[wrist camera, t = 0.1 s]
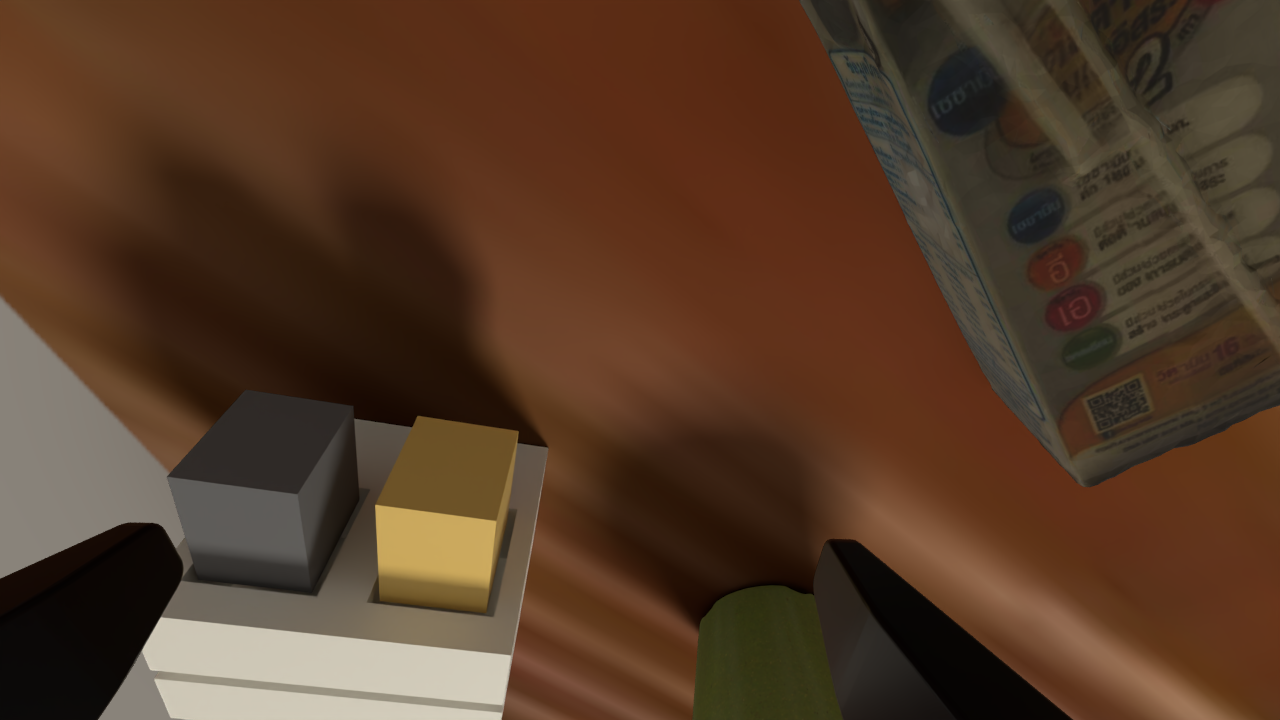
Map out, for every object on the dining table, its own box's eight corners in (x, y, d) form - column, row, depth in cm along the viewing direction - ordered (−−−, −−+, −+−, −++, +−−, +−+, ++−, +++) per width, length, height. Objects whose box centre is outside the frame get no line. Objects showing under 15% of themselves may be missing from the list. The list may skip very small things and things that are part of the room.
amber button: (417, 415, 20) (374, 504, 17) (518, 430, 21) (496, 520, 18) (417, 507, 23) (379, 600, 20) (507, 519, 23) (486, 613, 20)
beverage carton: (1057, -301, 14) (1325, -464, 9) (1196, 291, 23) (1373, 397, 17) (760, -60, 17) (822, -68, 11) (986, 391, 25) (1083, 511, 20)
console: (285, 408, 25) (125, 613, 17) (548, 447, 27) (511, 655, 19) (299, 507, 29) (170, 717, 21) (533, 538, 30) (496, 747, 22)
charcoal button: (245, 389, 20) (166, 476, 16) (353, 405, 20) (297, 494, 17) (263, 486, 22) (198, 579, 19) (359, 499, 23) (312, 593, 19)
